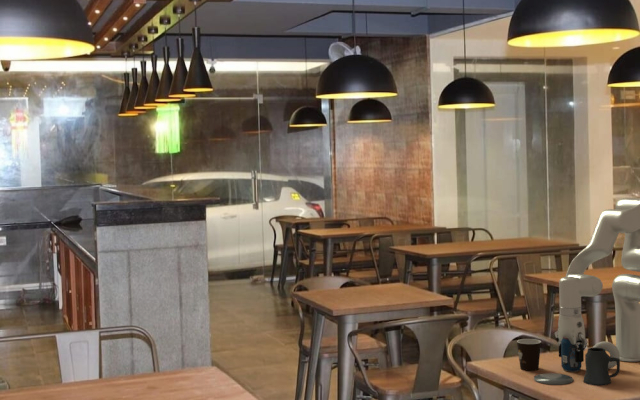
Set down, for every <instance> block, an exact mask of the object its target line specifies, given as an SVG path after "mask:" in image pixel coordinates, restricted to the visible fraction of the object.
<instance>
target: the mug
mask: <svg viewBox="0 0 640 400" xmlns="http://www.w3.org/2000/svg"><path fill="white" fill-rule="evenodd" d="M609 361H610V362H612V361H616V363H617V365H616V370H615V372H613V373H612V374H609V369H608V364H609ZM584 362H585V373H584V376H583V379H582V380H583V381H582V382H583V384H586V385H590V386H608V385H610V384H612V381H611V379H613V378H615V377H617V376H618V375H619V373H620V370H621V361H620V359H619V358H613V357H610V354H609V353H607V351H605V349H603V348H593V347H590V348H589V347H588V349H587V351H586V353H585V354H584Z"/></svg>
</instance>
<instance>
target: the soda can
mask: <svg viewBox="0 0 640 400" xmlns="http://www.w3.org/2000/svg"><path fill="white" fill-rule="evenodd" d="M577 342H579V341H577ZM577 342H576V343H577ZM578 347H580V345H578ZM575 351H577V350H576V348H575V346H574V345H573V344H571V342H570V341H569V338H564V337H563V339H562V340H561V357H560V358H561V359H560V360H561V362H560V363H561V365H560V367H561V368H562V369H563V371H565V372H572V373H574V372H576V373H577V372H579V371H581V368H582V367H583V366H582V364H583V363H582V362H578V363H577V362H575Z"/></svg>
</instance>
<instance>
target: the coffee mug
mask: <svg viewBox="0 0 640 400" xmlns="http://www.w3.org/2000/svg"><path fill="white" fill-rule="evenodd" d="M541 345H542V341H541V340H539V339H535V338H521V339H518V340H516V346H517V353H518V360H519V367H520V369H521V370H522V371H526V372H527V371H528V372H533V371H534V372H535V371H538V370H539V368H540V367H539V365H540V357H541V347H542V346H541Z"/></svg>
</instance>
